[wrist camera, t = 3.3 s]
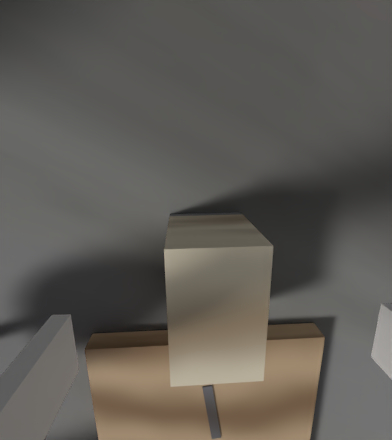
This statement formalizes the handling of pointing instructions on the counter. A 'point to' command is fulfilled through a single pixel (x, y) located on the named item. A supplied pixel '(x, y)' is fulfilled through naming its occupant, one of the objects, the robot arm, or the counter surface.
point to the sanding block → (216, 298)
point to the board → (203, 390)
